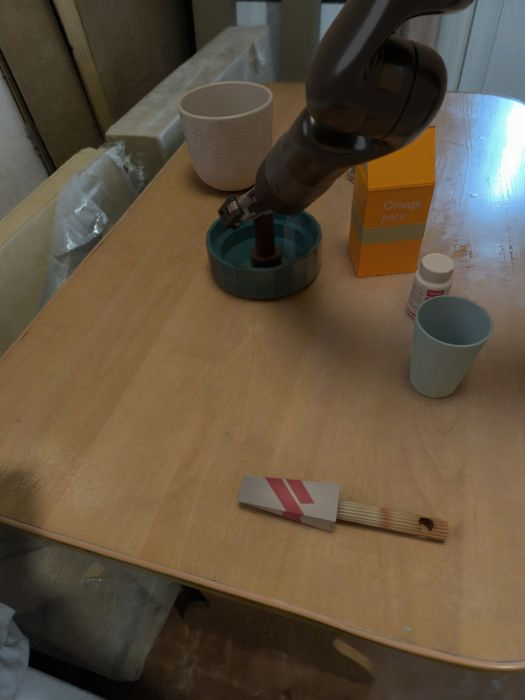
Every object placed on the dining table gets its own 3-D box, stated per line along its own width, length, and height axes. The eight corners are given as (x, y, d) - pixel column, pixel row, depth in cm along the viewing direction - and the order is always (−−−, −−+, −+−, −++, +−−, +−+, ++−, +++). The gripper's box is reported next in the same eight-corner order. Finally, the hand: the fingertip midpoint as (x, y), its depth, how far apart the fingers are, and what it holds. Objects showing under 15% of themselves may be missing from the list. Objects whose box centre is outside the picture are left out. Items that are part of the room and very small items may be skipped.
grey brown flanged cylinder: (281, 251, 73) (278, 188, 65) (282, 270, 70) (279, 206, 62) (251, 253, 73) (245, 190, 65) (251, 272, 70) (244, 208, 62)
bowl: (315, 231, 77) (316, 199, 73) (325, 299, 66) (326, 266, 61) (215, 237, 78) (210, 206, 74) (207, 305, 67) (201, 273, 62)
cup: (390, 361, 58) (404, 300, 50) (448, 351, 58) (471, 289, 50) (413, 410, 53) (433, 351, 45) (477, 399, 53) (507, 339, 45)
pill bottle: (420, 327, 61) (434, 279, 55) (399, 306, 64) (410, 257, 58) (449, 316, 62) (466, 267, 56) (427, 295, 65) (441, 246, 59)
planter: (266, 154, 97) (261, 75, 86) (285, 193, 86) (283, 108, 75) (188, 167, 96) (172, 88, 84) (197, 209, 84) (181, 124, 73)
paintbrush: (244, 463, 46) (449, 506, 43) (245, 475, 48) (441, 517, 45) (233, 499, 44) (450, 548, 40) (235, 510, 46) (442, 558, 42)
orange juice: (415, 272, 69) (446, 139, 54) (357, 278, 69) (372, 146, 54) (401, 242, 74) (426, 112, 59) (347, 247, 74) (358, 119, 59)
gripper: (338, 122, 52) (290, 176, 68) (227, 156, 49) (203, 205, 64) (361, 184, 53) (308, 223, 69) (254, 222, 49) (223, 254, 65)
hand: (257, 214), depth 66 cm, fingers open, 8 cm apart
